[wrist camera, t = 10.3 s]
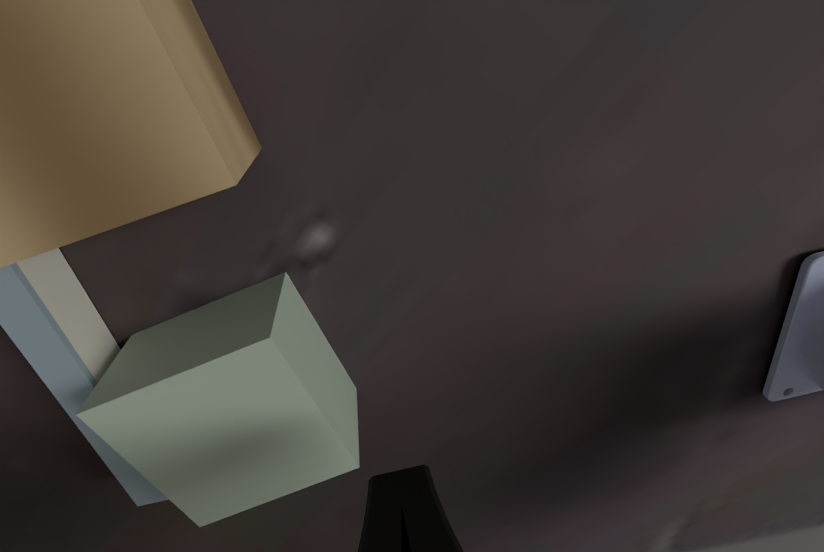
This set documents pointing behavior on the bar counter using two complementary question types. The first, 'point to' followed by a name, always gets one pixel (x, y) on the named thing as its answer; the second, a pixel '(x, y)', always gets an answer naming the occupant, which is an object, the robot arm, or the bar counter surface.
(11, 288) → the bar
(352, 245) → the bar counter surface
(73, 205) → the oak block
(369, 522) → the robot arm
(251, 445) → the sage block
